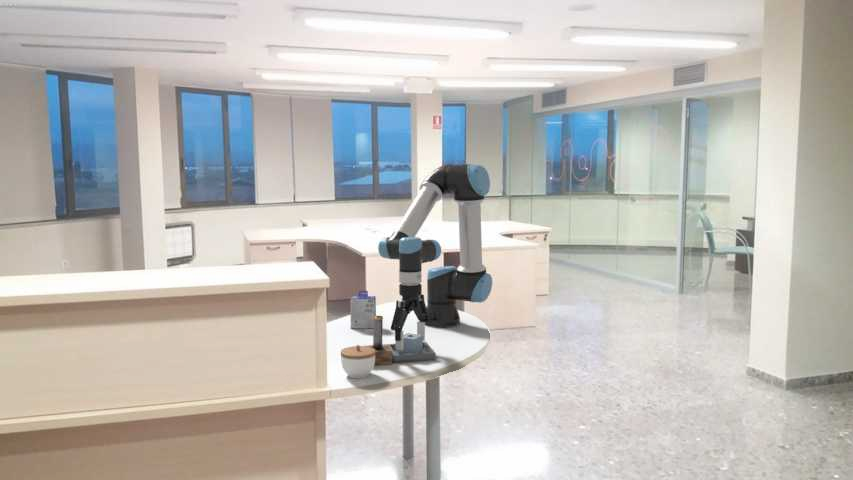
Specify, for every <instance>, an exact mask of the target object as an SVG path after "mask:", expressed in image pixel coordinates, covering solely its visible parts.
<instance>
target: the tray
mask: <svg viewBox="0 0 853 480" xmlns="http://www.w3.org/2000/svg"><path fill="white" fill-rule="evenodd" d="M386 344H387V345H388V346H389V348H390V349H391V351H392V362H393V364H399V363H400V364H402V363H414V362H415V363H416V362H429V361H436V358H437V357H436V354H437V353H436V352H435V350H434V349H433V348H432V347H431V346H430V345H429V344H428V342H427V341H423V353H414V354H398V350H396V349H395V343H386Z"/></svg>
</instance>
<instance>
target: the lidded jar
mask: <svg viewBox="0 0 853 480" xmlns="http://www.w3.org/2000/svg"><path fill="white" fill-rule="evenodd" d="M367 346H368V345H359V344H358V345H357V344H356V345H355V346H354V345H353V346H348V347H345V348H343V349H341V350H340V358H341V359H340V360H341V367H342V369H343V371H344V372H345V374H346V375H348V377H349V378H352V379H364V378H367V377H368V376H369V374H370V373H371V372H372V371H373V369H374V368H375V366H374V364H375V354H376V350H375V349H374V348H371V347H367Z"/></svg>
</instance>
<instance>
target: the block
mask: <svg viewBox="0 0 853 480" xmlns="http://www.w3.org/2000/svg"><path fill="white" fill-rule="evenodd" d="M423 342H424V341H423V335H418V334H417V333H410V332H407V333H403V351H401V350H398V354H414V353H423Z"/></svg>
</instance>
